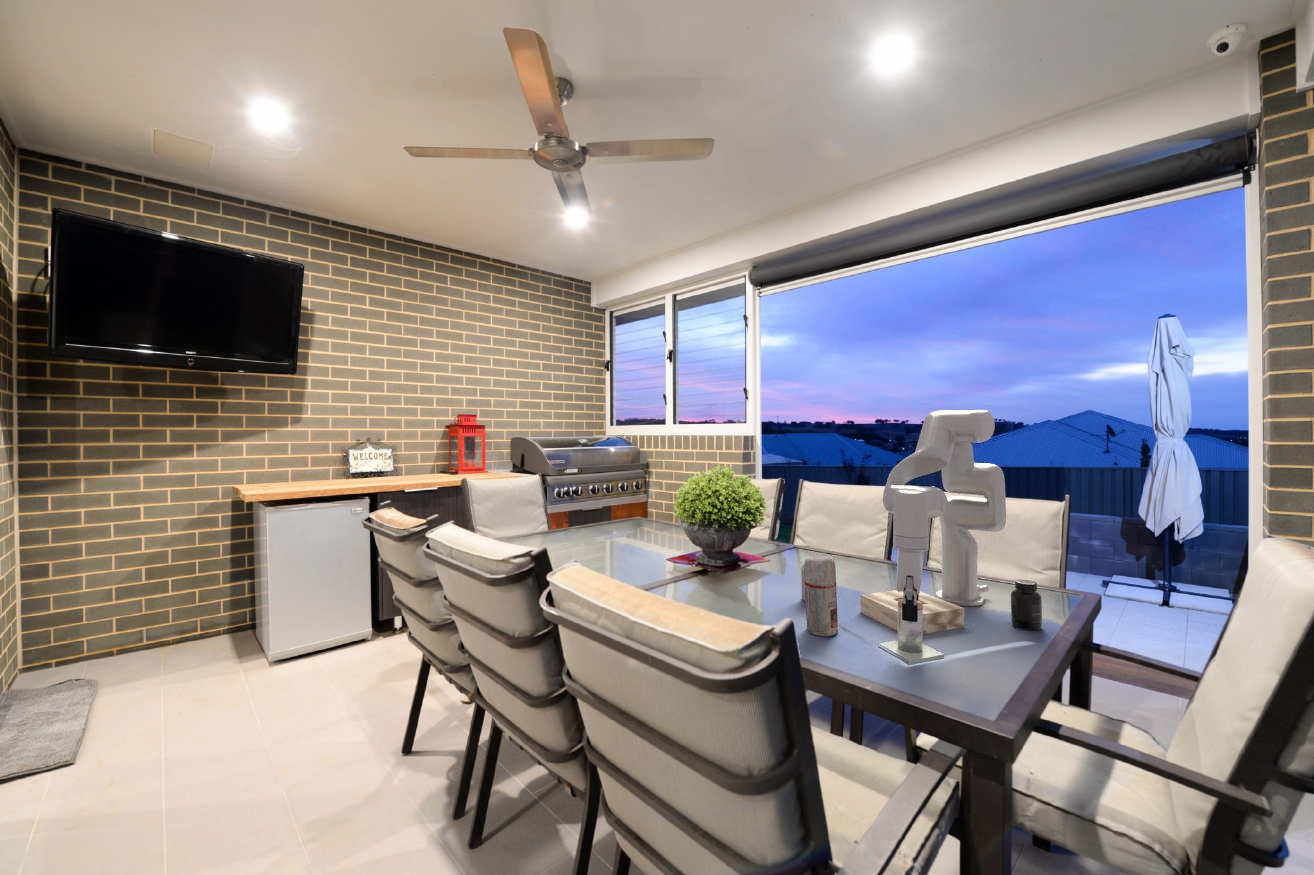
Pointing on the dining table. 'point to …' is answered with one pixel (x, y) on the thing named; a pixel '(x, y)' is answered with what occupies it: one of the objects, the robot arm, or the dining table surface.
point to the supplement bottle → (1026, 606)
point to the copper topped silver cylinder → (910, 631)
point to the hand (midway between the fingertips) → (910, 614)
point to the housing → (934, 611)
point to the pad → (913, 658)
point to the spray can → (821, 596)
